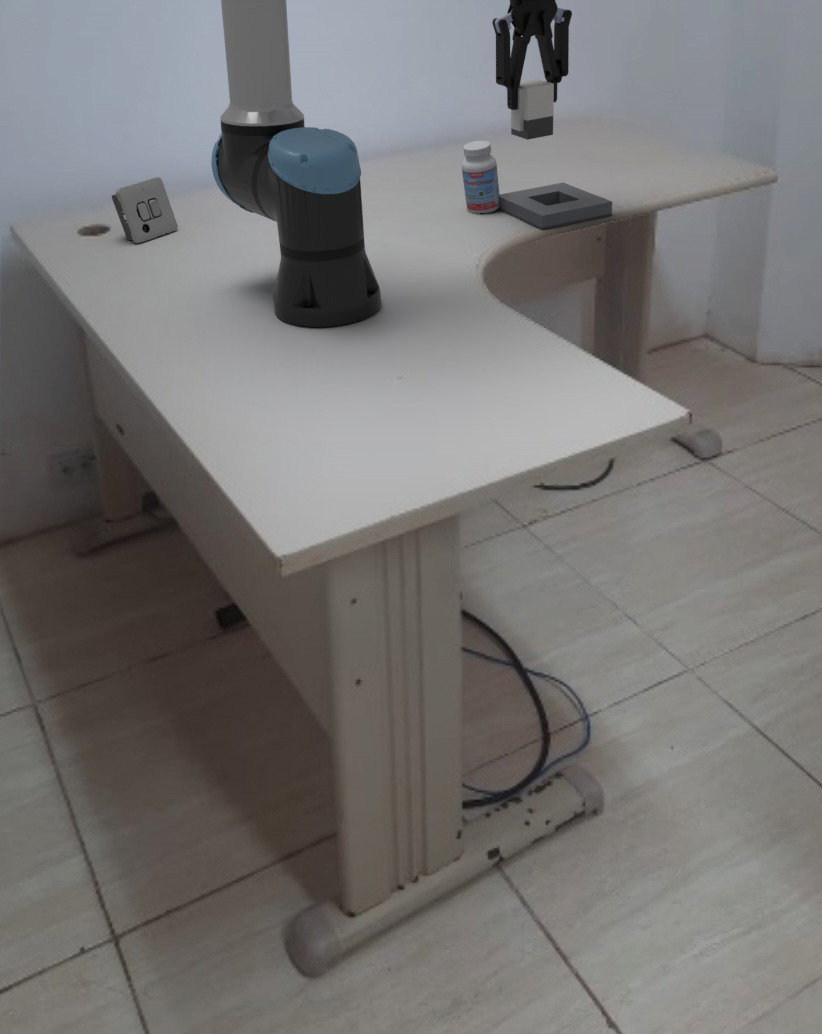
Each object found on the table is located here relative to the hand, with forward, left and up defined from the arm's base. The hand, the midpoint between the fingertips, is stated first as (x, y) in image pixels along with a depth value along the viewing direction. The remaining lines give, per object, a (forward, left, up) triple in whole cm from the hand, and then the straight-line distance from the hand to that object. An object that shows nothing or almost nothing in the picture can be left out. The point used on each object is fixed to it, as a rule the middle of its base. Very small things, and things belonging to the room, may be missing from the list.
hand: (532, 126), depth 176 cm
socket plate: (-1, -4, -15) cm, 15 cm away
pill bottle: (+8, +5, -15) cm, 17 cm away
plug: (0, 0, -1) cm, 1 cm away
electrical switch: (+28, +60, -15) cm, 68 cm away
